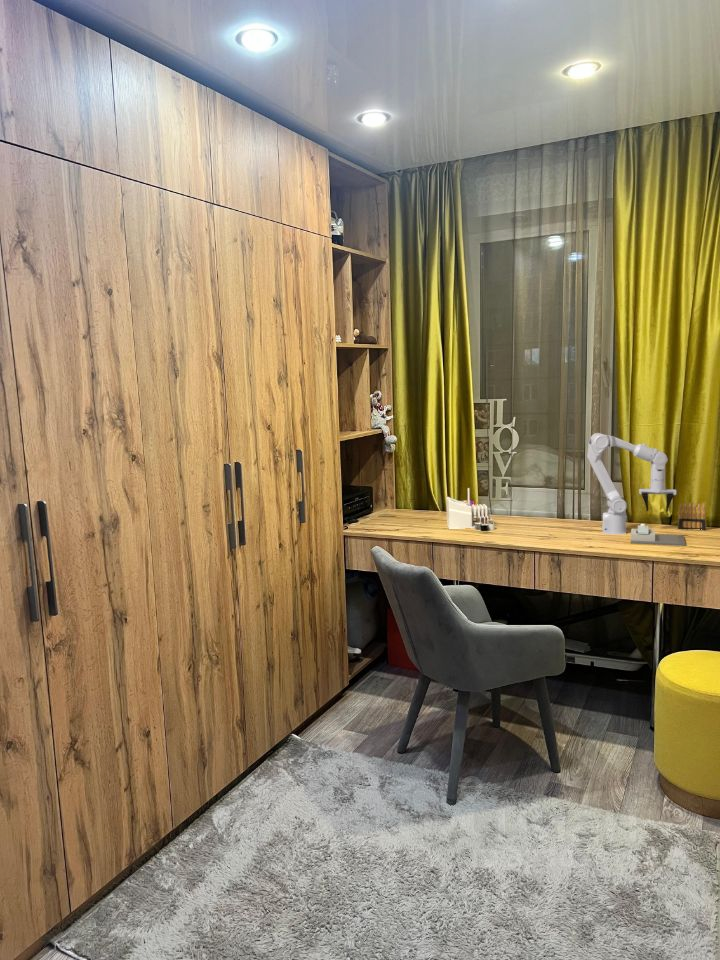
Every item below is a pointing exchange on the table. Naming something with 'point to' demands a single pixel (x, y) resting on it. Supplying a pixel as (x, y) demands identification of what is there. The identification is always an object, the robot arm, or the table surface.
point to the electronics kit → (467, 515)
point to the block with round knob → (642, 529)
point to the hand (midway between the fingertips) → (657, 510)
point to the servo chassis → (656, 538)
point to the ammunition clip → (692, 517)
